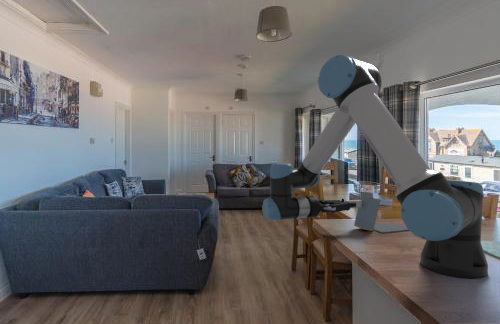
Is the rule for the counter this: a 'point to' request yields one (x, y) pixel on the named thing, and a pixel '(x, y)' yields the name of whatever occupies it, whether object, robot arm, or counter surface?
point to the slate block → (367, 213)
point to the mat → (389, 227)
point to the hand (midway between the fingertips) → (360, 203)
